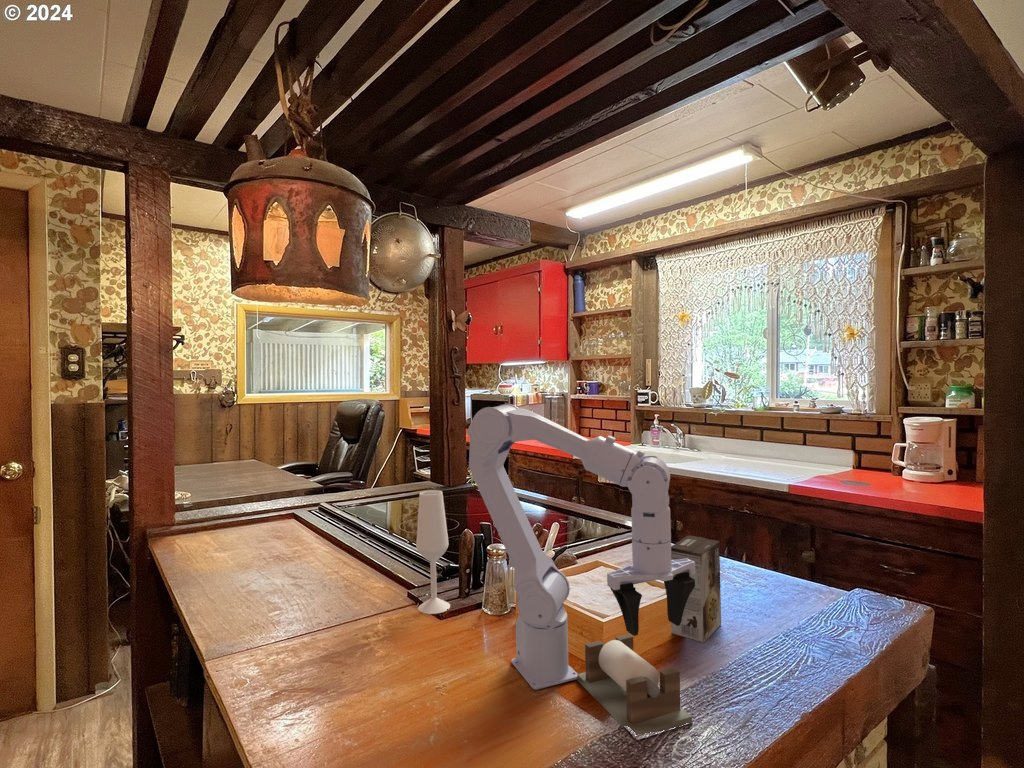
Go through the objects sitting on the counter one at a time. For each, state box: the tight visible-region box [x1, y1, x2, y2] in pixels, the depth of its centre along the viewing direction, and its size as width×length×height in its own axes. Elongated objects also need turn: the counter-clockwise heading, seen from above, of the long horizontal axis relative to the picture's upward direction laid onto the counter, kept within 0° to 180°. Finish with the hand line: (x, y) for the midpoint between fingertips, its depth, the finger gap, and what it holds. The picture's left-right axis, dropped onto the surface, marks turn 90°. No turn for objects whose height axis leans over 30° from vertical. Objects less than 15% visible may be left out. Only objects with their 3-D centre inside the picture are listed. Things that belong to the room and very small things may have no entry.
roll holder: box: [576, 633, 693, 735], centre depth 83 cm, size 16×9×6 cm, turn 22°
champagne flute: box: [415, 489, 451, 615], centre depth 117 cm, size 7×7×24 cm
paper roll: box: [599, 639, 660, 698], centre depth 83 cm, size 13×5×5 cm
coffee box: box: [670, 535, 722, 643], centre depth 105 cm, size 9×6×16 cm
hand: (653, 627), depth 85 cm, fingers open, 7 cm apart
